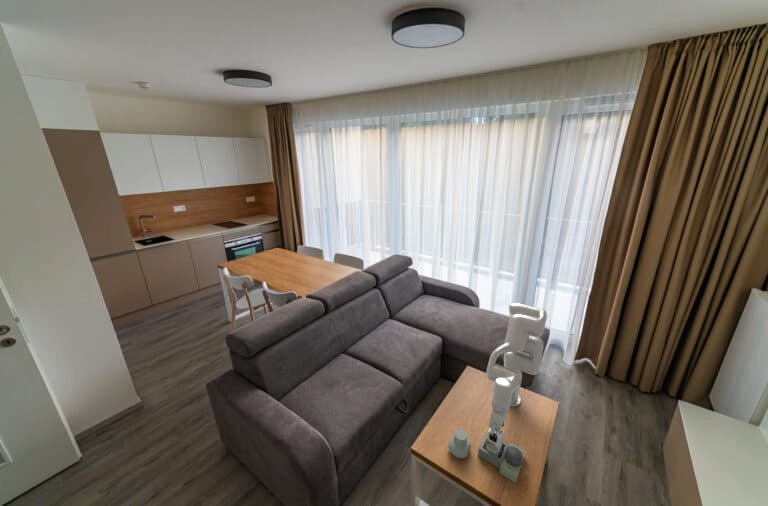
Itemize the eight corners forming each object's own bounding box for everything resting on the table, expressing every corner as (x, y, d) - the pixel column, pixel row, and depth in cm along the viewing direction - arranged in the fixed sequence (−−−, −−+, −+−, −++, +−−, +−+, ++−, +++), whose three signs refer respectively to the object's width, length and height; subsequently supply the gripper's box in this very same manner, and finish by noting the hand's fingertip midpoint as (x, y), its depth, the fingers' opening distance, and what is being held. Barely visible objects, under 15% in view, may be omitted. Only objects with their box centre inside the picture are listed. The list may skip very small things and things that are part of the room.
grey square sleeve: (487, 436, 143) (488, 425, 141) (524, 457, 133) (526, 446, 130) (476, 458, 133) (477, 447, 130) (515, 483, 122) (518, 471, 120)
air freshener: (455, 436, 143) (457, 421, 140) (472, 446, 138) (474, 431, 135) (446, 454, 135) (447, 438, 131) (462, 465, 130) (464, 449, 127)
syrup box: (501, 452, 135) (505, 429, 130) (496, 462, 131) (500, 438, 126) (489, 444, 139) (492, 422, 134) (484, 453, 135) (487, 430, 130)
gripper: (498, 387, 134) (494, 414, 140) (485, 413, 121) (481, 442, 127) (515, 395, 129) (510, 423, 135) (503, 423, 117) (498, 452, 122)
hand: (496, 432), depth 131 cm, fingers open, 9 cm apart
